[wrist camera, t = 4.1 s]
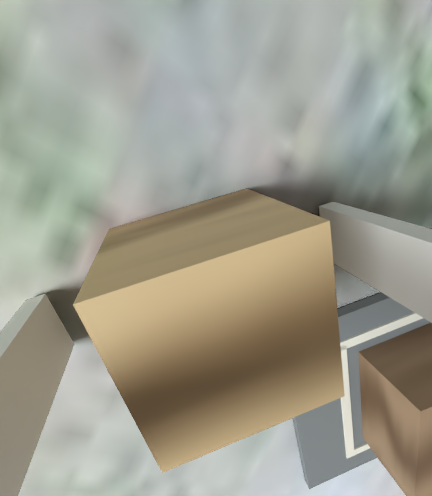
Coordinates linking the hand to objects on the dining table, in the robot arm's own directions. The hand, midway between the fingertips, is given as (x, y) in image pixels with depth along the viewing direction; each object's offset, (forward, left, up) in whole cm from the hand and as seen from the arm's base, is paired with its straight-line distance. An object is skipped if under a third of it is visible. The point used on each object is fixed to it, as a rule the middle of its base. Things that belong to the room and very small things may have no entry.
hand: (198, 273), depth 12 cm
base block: (+12, +10, 0) cm, 16 cm away
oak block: (0, 0, 0) cm, 0 cm away
